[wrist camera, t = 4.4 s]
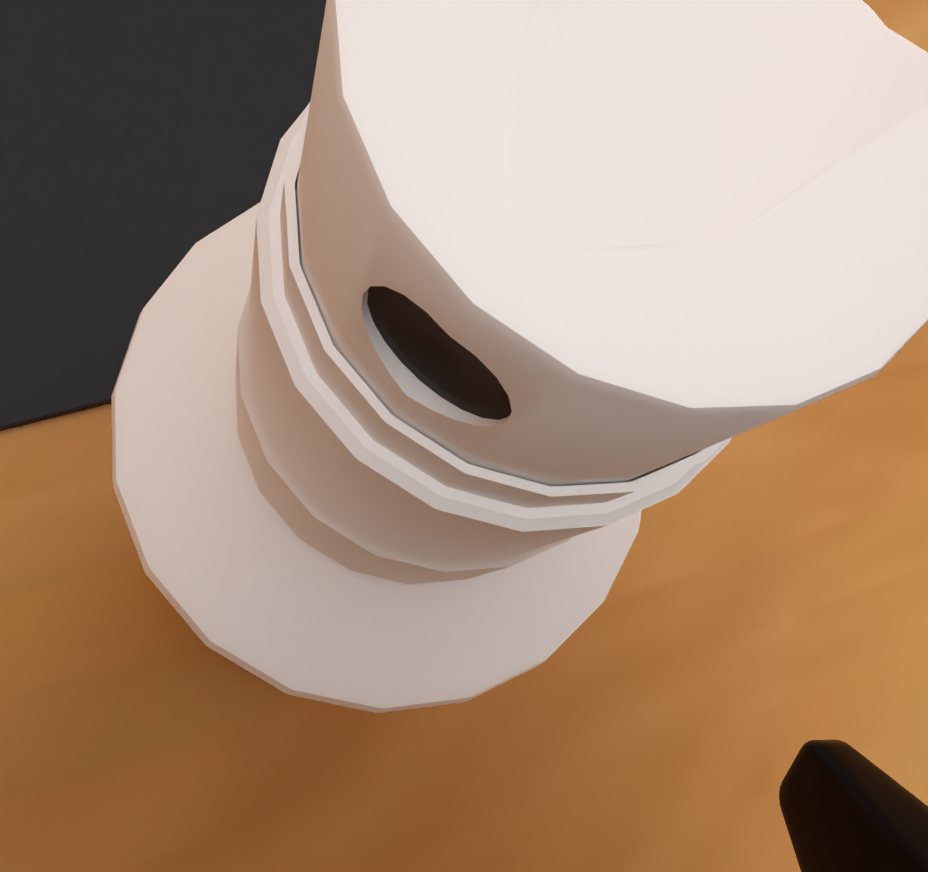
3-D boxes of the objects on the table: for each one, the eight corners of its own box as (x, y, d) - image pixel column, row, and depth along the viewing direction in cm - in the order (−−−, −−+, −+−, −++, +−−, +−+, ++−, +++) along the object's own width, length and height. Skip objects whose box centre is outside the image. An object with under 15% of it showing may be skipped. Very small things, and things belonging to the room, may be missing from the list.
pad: (-202, 481, 18) (-208, 479, 18) (-317, -3, 20) (-325, -12, 20) (599, 279, 25) (603, 275, 25) (461, -75, 26) (464, -82, 26)
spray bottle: (100, 550, 20) (-650, -57, 3) (301, 347, 22) (562, -647, 5) (326, 743, 20) (898, 1260, 3) (501, 522, 22) (1365, 130, 5)
